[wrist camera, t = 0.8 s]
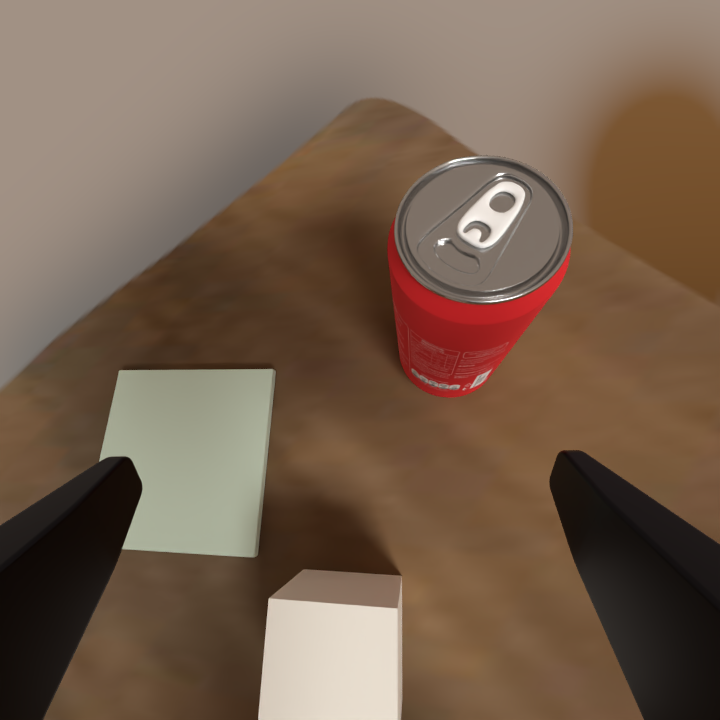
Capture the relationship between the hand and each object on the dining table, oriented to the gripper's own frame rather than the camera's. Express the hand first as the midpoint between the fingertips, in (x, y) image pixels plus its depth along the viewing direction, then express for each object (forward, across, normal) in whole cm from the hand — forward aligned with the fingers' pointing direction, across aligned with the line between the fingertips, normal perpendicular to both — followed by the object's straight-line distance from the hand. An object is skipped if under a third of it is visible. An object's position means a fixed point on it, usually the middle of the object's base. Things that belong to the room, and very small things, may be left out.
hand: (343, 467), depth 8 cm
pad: (+10, +10, +10) cm, 17 cm away
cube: (+3, 0, +15) cm, 15 cm away
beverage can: (+13, -5, +5) cm, 15 cm away
